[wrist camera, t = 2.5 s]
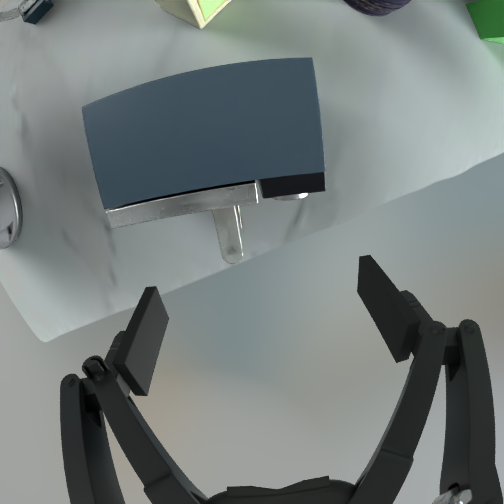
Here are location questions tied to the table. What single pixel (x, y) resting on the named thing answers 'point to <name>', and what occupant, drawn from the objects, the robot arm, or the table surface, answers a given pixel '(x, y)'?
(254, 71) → the microwave
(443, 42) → the table surface
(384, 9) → the storage jar
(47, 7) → the watch
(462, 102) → the table surface
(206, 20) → the toy refrigerator
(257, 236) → the table surface
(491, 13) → the hardback book
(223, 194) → the microwave door
